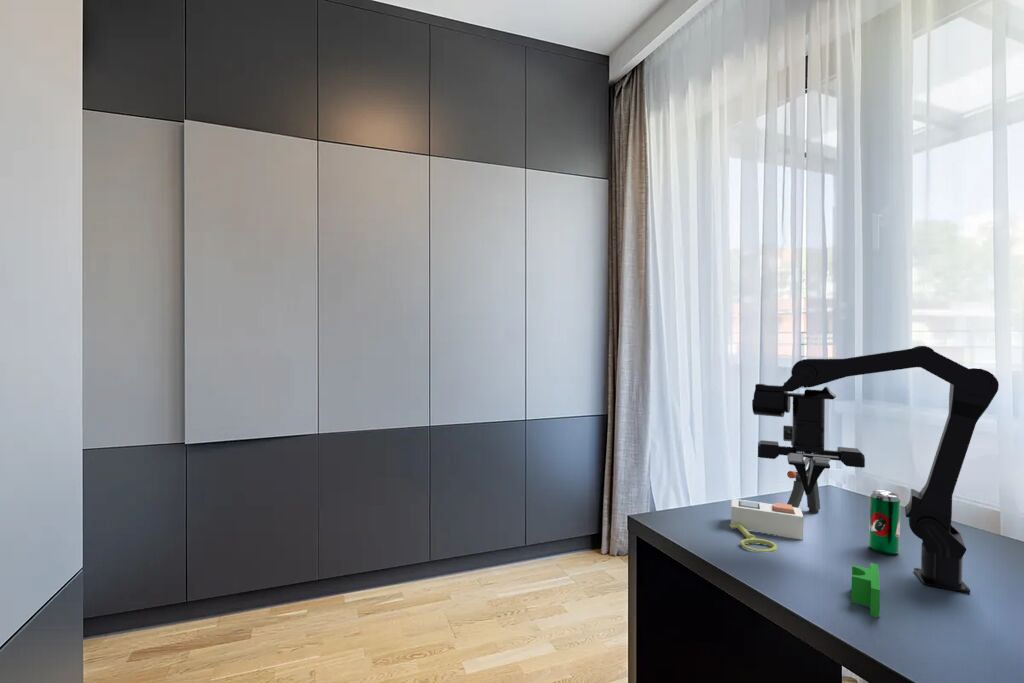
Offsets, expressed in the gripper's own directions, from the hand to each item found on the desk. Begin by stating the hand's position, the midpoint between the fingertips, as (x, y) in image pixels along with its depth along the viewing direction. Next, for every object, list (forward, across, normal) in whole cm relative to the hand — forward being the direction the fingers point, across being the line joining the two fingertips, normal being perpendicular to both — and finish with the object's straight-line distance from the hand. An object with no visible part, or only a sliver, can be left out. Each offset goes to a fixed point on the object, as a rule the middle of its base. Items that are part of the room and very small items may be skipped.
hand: (807, 494), depth 104 cm
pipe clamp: (+12, -7, +18) cm, 23 cm away
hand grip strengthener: (+12, 0, -24) cm, 26 cm away
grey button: (+11, +11, -9) cm, 18 cm away
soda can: (+12, -14, -8) cm, 20 cm away
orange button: (+10, +4, -9) cm, 14 cm away
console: (+11, +8, -9) cm, 16 cm away
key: (+12, +11, +1) cm, 16 cm away
